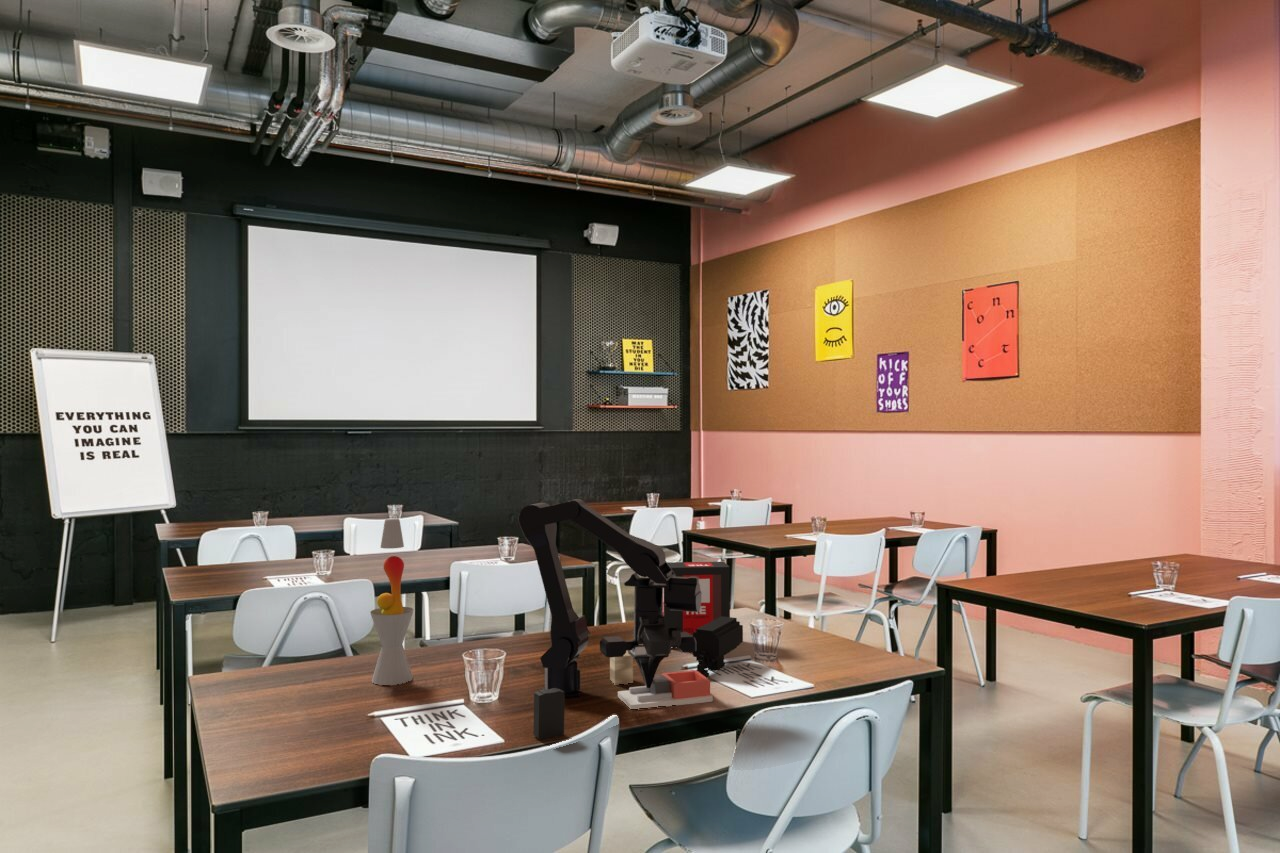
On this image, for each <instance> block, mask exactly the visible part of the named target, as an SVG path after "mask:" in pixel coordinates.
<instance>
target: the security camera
mask: <svg viewBox="0 0 1280 853" xmlns="http://www.w3.org/2000/svg"><path fill="white" fill-rule="evenodd" d="M740 623H741V622H740V621H739V620H738V618H737V617H732V616H730V617H723V616H721V617H719V618H717V619H715V620H713V621H711V622H709V623H707V624H705V625H703V626H702V627H700V628H698V629H696V631H695V632H693V634H692V636H693V637H694V638H695V639H696V642H697V651H693V652H689V653H690V654H692V655H693V658H694V657H695V658H696V661H697V662H698V664H697V666H696V670H697V671H698V672H700V673H701V674H702V675H704V676H705V677H706V678H708V679H709V677H710V672H709V671H713V670H714V671H715V672H718V671H720V670H721V669H722V668H725V667H726V662H725V655H727V654H729V653H730V652H733V651H734V650H735V649H737V647H738V646H741V644H742V643H744V642H743V641H744V629H743V628H744V626H743V624H740ZM714 671H713V672H714Z"/></svg>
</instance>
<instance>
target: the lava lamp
mask: <svg viewBox="0 0 1280 853" xmlns="http://www.w3.org/2000/svg"><path fill="white" fill-rule="evenodd" d="M402 532H403V530H402V526H401V520H400V519H399V518H397V517H393V518H391V517H390V518H386V519H385V520H384V523H383V530H382V534H381V535H382V536H381V542H380V549H389V550H390V549H399V548H400V549H401V548H404V547H405V544H404V537H403V533H402ZM382 566H383V570H384V573H385V574H386V576H387V578H388V581H389V584H390V587H391V588H390V589H391V593H389V592H384V593H381V594H380V595H378V597H377V600H376V604H377V606H378V607H379V608H376V609H373V610H371V611H369V612H370V616H371V618H372V619H371V620H372V622H373V624H374V627H375V630H376V633H377V636H378V638H379V642H380V644H381V648H380V652H379V655H378V658H377V661H376V665H375V669H374V672H373V675H372V678H371V681H372V682H371V683H372V684H373V683H374V684H373V685H375V684H379V685H378V686H382V685H390V686H398V685H397V684H399V685H403V684H407V683H409V682H411V681H412V680H413V679H414V678H413V677H414V676H413V673H412V670H411V668H410V664H409V660H408V657H407V655H406V651H405V648H404V645H403V644H404V641H405V638H406V634H407V632H408V629H409V626H410V623H411V620H412V617H413V613H414V612H415V610H414V608H413V607H409V606H404V605H403V602H402V596H401V583H402V577H403V571H404V570H405V569H404V568H405V563H404V560H403V559H402V558H401V557H400V556H395V555H394V556H393V555H392V556H390V557H387V558H386V559H385V560H384V562H383V565H382ZM408 681H409V682H408ZM406 682H407V683H406ZM402 683H403V684H402Z"/></svg>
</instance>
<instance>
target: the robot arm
mask: <svg viewBox="0 0 1280 853" xmlns="http://www.w3.org/2000/svg"><path fill="white" fill-rule="evenodd" d="M517 519H518V524H519V527H520V530H521V532H522V534H523V536H524V538H525V539H526V541H527V542H528V543H529V545H530V546H531V547H532V548H533V552H534V555H535V558H536V559H535V560H536V561H537V565H538V566H537V567H538V569H539V574H540V578H541V581H542V585H543V589H544V592H545V597H546V600H547V604H548V607H549V612H550V616H551V621H550V629H549V631H550V632H549V636H550V644H551V646H550V647H549V648H548V649H547V650H546V652H544V653H543V654H542V655H541V656H540V658H539V659H540V662H541V664H542V668H544V686H543V687H542V690H547V689H551V688H557V689H560V690H562V691H564V695H565V698H569V697H571V698H572V697H579V696H580V694H581V693H580V690H581V670H580V669H579V667H578V666H579V664H578V662H577V661H576V660H577V659H579V657H580V656H581V655H580V654H581V653H582V652H583V651H584V650H585V649H586V647H587V646H588V644H589V635H591V631H590V630H589V628H588V625H587V619H586V616H585V614H584V615H581V616H579V615H578V614H577V612H576V611H575V610H574V608H573V604H572V601H571V600H572V599H571V597H570V593H569V589H568V586H567V582H566V578H565V575H564V571H563V570H564V569H563V566H562V562H561V558H560V556H559V551H558V546H557V544H556V541H557V531H558V530H557V529H558V526H557V523H560V522H563V521H565V522H566V521H568V520H570V521H573V523H575V524H577V525H578V526H580V527H581V528H582V529H584V530H585V531H587V532H588V533H590V535H593V536H594V537H596V538H597V539H598V540H600V542H602V543H604V544H606V545H607V546H608V547H610V548H611V549H612V550H614V551H616V553H617V554H618V555H619V556H620V557H621V558H622V560H623V561H624V563H625V564H626V566H628V567H629V568H630V569H631V570H632V571H633V572H634V573H632V574H631V575H630V577H629V578H628V579H627V581H625V582H624V583H623V585H624V586H625V587H634V597H633V598H634V599H633V600H634V601H633V602H634V604H633V606H634V608H633V609H634V610H633V611H632V617H633V621H634V622H633V624H634V625H633V628H634V630H633V632H632V638H633V639H630V640H628V639H627V640H625V639H624V638H622V637H621V636H620V635H617V636H616V635H615V636H603V637H602V638H601V639H600V642H599V652H600V653H602V654H603V656H604V657H606V658H610V657H623V655H624V654H625V653H626V651H628V654H629V655H631V656H632V657H633V660H635V662H636V664H637V665H638V668H639V671H640V674H641V676H642V680H643V682H644V686H646V687H647V688H650V687H651V684H652V681H653V679H654V676H656V673H657V670H658V667H659V666H660V664H661V662H662V661H663V660H664V659H665V658H668V657H669V656H670V654H671V653H672V648H671V647H678V648H677V649H679V650H680V651H681V653H690V652H693V651H697V642H696V639H695V638H694V637H693V636H692V635H690V634H689V633H687V632H681V630H680V628H679V627H670V628H666V625H665V616H663V588H664V603H665V605H666V607H669V609H670V610H674V611H690V612H699V610H700V606H701V591H700V584H699V577H697V576H691V577H676V575H675V573H674V572H673V570H672V569H671V568H670V566H669V565H668V563H667V561H666V558H667V557H666V554H665V550H664V549H663V548H662V547H661V546H659V545H657V544H655V543H653V542H650V541H648V540H646V539H644V538H640V537H637V536H635V535H632V534H630V533H629V532H628V531H626V530H625V529H623V528H621V527H620V526H618V525H617V524H616V523H614V522H613V521H611V520H610V519H608V518H607V517H605V516H604V515H603V514H601V513H600V512H598V511H597V510H595V509H594V508H592V507H591V506H589V505H588V504H587V503H586V502H585V501H584V500H583V499H580V498H576V499H570V500H567V501H566V502H562V503H558V504H553V505H550V504H548V503H545V502H537V503H534V504H528V505H526V506H524V507H523V508H522V509H521V510H520V513H519V514H518V516H517Z"/></svg>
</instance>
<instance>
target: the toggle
mask: <svg viewBox="0 0 1280 853" xmlns="http://www.w3.org/2000/svg"><path fill="white" fill-rule="evenodd" d="M649 692H650V693H651V694H656V693H666V692H670V681H669V680H668V679H667V678H666V677H665V676H662V675H655V676H654V679H653V681H652V684H651V687H650V688H649Z"/></svg>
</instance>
